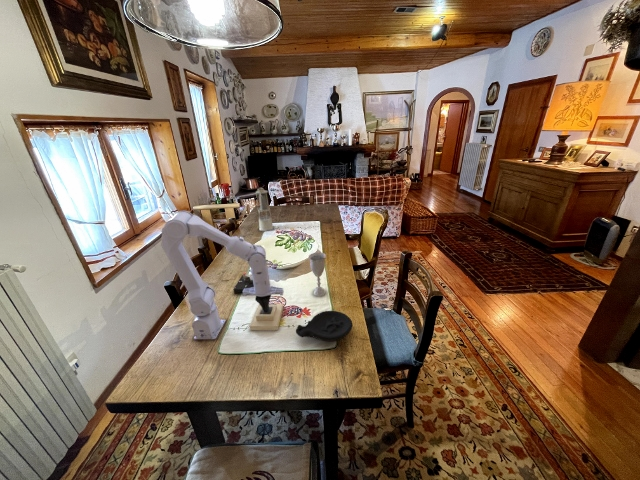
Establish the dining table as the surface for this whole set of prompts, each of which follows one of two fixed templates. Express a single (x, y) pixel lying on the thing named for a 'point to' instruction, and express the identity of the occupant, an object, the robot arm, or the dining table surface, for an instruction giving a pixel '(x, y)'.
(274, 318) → the stepped cream base
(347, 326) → the oil lamp
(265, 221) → the lamp
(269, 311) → the switch
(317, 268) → the chalice
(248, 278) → the dial
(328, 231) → the dining table surface
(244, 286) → the browning panel
